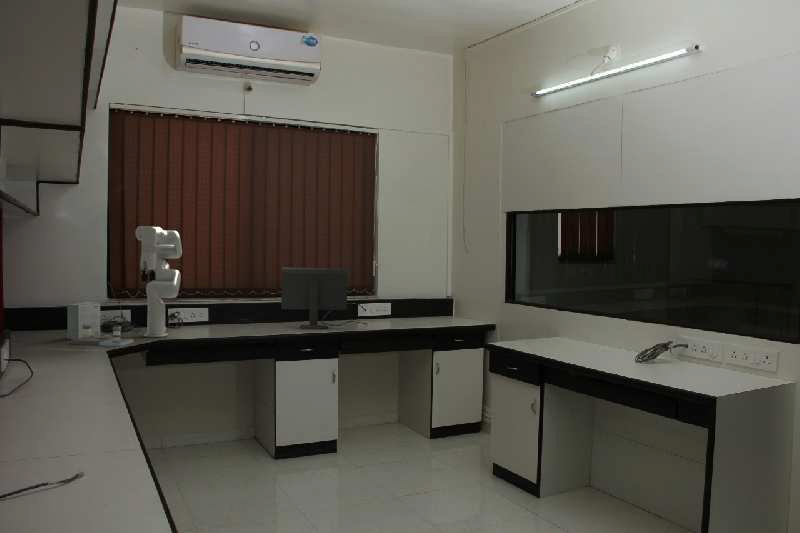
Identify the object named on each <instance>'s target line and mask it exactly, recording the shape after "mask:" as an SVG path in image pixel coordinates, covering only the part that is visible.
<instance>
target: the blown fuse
mask: <svg viewBox="0 0 800 533" xmlns="http://www.w3.org/2000/svg"><path fill="white" fill-rule="evenodd" d="M121 331H122V327H121V326H113V327H112V332H113V333H112V337H113V342H112V343H122V342H121V341H120V339H121Z"/></svg>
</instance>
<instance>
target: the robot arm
mask: <svg viewBox="0 0 800 533" xmlns="http://www.w3.org/2000/svg"><path fill="white" fill-rule="evenodd" d="M135 237H136V239H137V240H138V241H141V254H140V255H141V256H140V262H139V263H140V265H139V269H140V273H141V279H140V280H141V282H148V281H149V282H148V283H147V285H146V287H145V292H146V296H147V297H146V298H147V321H146V323H147V325H146V326H147V330H146V333H144V334H143V335H144V337H146V338H160V337H162V338H163V337H167V336H169V335H168V334H169V333H167V332H166V331H167V327H166V304H165V303H164V301H163V300H162V299H163V298H164V299H174V298H177V297H178V294H179V290H180V284H181V278H182V276H181V275H182V274H181V272H180V271H179V270H178V269H174V268H173V269H170V266H171V265H170V264H169V263H168V262H167V260H166V259H180V258H181V257H182V256H183V248H182V242H181V236H180V234H179V232H178V231H176V230H164V229H163V228H161V226H150V225H149V226H148V225H147V226H145V225H144V226H137V228H136V230H135ZM148 272H149V274H148Z"/></svg>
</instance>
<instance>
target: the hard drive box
mask: <svg viewBox="0 0 800 533" xmlns="http://www.w3.org/2000/svg"><path fill="white" fill-rule="evenodd" d="M83 325H91V330H90V335H97V336H101V302H94V301H86V302H78V303H68V304H67V340H74V339H78V338H82V337H83Z"/></svg>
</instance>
